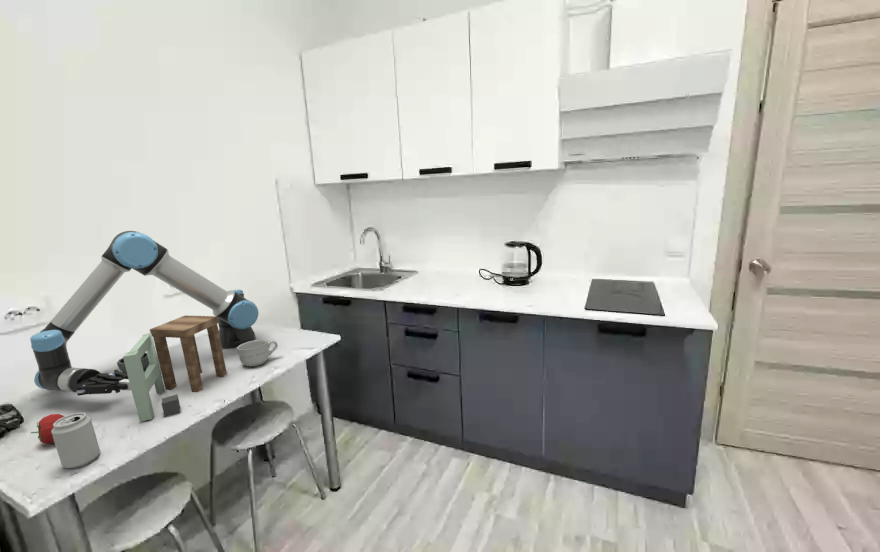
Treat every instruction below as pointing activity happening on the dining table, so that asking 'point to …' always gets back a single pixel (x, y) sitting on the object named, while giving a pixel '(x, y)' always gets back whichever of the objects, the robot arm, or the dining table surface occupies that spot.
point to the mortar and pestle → (143, 359)
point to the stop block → (170, 405)
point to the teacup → (255, 352)
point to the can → (75, 440)
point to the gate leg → (143, 376)
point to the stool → (188, 348)
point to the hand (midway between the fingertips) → (138, 385)
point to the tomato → (47, 428)
